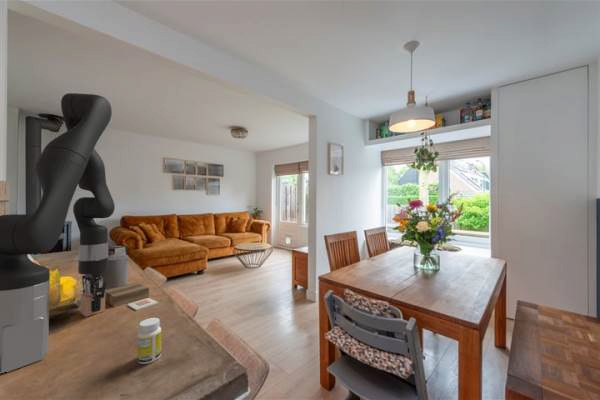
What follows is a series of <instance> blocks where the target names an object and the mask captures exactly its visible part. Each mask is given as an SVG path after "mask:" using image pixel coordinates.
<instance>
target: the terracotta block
mask: <svg viewBox="0 0 600 400" xmlns="http://www.w3.org/2000/svg"><path fill="white" fill-rule="evenodd" d="M97 295H99V293H97ZM91 302H92V300H91V294H89V293H84V294H81V307H80V313H81V314H82V315H83V316H84V317H85V318H87V317H89V316H93V315H97V314H99V313H102V312H106V302H105V293H104V298H102V299H101V309H100V310H99V311H96V312H92V311H91Z"/></svg>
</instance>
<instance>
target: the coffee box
mask: <svg viewBox="0 0 600 400" xmlns="http://www.w3.org/2000/svg"><path fill="white" fill-rule="evenodd" d="M128 247H129V246H127V245H108V256H110V255H113V254H114V255H127V256H128V257H129V255H128V253H129V252H128V251H129V249H128Z"/></svg>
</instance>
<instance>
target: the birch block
mask: <svg viewBox="0 0 600 400" xmlns="http://www.w3.org/2000/svg"><path fill="white" fill-rule="evenodd" d="M87 287H88V286H87ZM78 290H79V291H80V292H83V285H81V287H80V288H79V289H78ZM83 294H84V293H83ZM76 305H77V306H78V307H77V306H76ZM76 305H75V306H76V307H77V308H79V307H80V308H81V297H80V298H79V300H78V301H77V303H76Z"/></svg>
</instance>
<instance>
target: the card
mask: <svg viewBox="0 0 600 400" xmlns="http://www.w3.org/2000/svg"><path fill="white" fill-rule="evenodd" d="M158 304H159V302H158V301H157V300H154V299H152V298H150V297H149V298H145V299H142V300H138V301H135V302H131V303H128V304H126V306H127V307H129V308H131V309H132V310H134V311H140V310H142V309H145V308H148V307H151V306H154V305H158Z"/></svg>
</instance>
